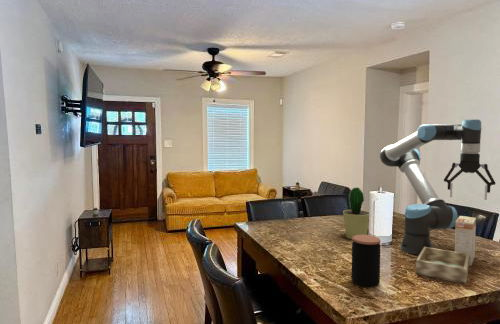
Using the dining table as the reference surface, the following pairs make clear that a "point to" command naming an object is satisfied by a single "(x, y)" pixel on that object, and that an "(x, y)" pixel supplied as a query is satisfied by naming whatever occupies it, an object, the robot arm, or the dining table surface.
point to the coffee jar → (366, 260)
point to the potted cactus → (356, 215)
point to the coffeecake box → (465, 236)
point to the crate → (443, 264)
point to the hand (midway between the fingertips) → (467, 198)
